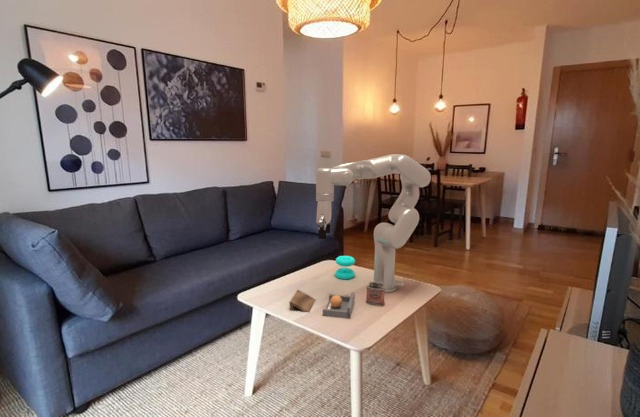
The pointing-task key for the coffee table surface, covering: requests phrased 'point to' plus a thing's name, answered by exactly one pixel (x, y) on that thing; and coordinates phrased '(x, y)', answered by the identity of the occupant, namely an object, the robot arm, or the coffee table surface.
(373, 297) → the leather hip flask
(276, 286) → the coffee table surface
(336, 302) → the ball
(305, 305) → the ramp
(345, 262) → the donuts
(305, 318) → the coffee table surface
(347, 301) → the box
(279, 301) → the coffee table surface
